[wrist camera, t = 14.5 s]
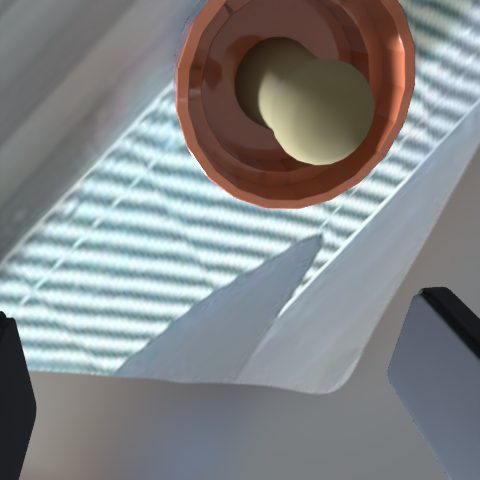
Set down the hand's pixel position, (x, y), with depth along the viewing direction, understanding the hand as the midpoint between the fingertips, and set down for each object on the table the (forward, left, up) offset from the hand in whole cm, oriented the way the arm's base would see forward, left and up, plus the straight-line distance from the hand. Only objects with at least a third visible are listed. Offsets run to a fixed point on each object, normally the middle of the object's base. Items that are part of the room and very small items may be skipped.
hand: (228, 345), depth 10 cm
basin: (-3, +7, -23) cm, 24 cm away
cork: (-3, +7, -23) cm, 24 cm away
